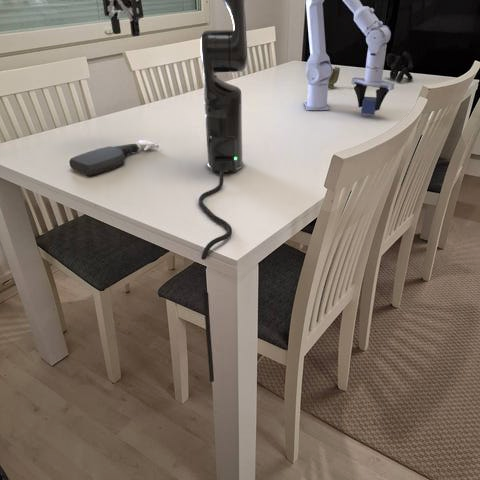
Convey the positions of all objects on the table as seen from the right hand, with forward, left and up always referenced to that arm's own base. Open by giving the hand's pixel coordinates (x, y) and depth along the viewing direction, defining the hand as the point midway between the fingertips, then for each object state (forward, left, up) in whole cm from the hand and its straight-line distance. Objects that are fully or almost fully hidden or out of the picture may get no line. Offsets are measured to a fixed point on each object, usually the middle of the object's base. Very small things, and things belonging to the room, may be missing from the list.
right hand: (369, 108), depth 154 cm
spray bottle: (+39, -78, -3) cm, 87 cm away
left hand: (+21, -75, +27) cm, 83 cm away
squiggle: (-54, +26, -3) cm, 60 cm away
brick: (0, 0, -1) cm, 1 cm away
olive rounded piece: (-41, -7, -3) cm, 42 cm away
